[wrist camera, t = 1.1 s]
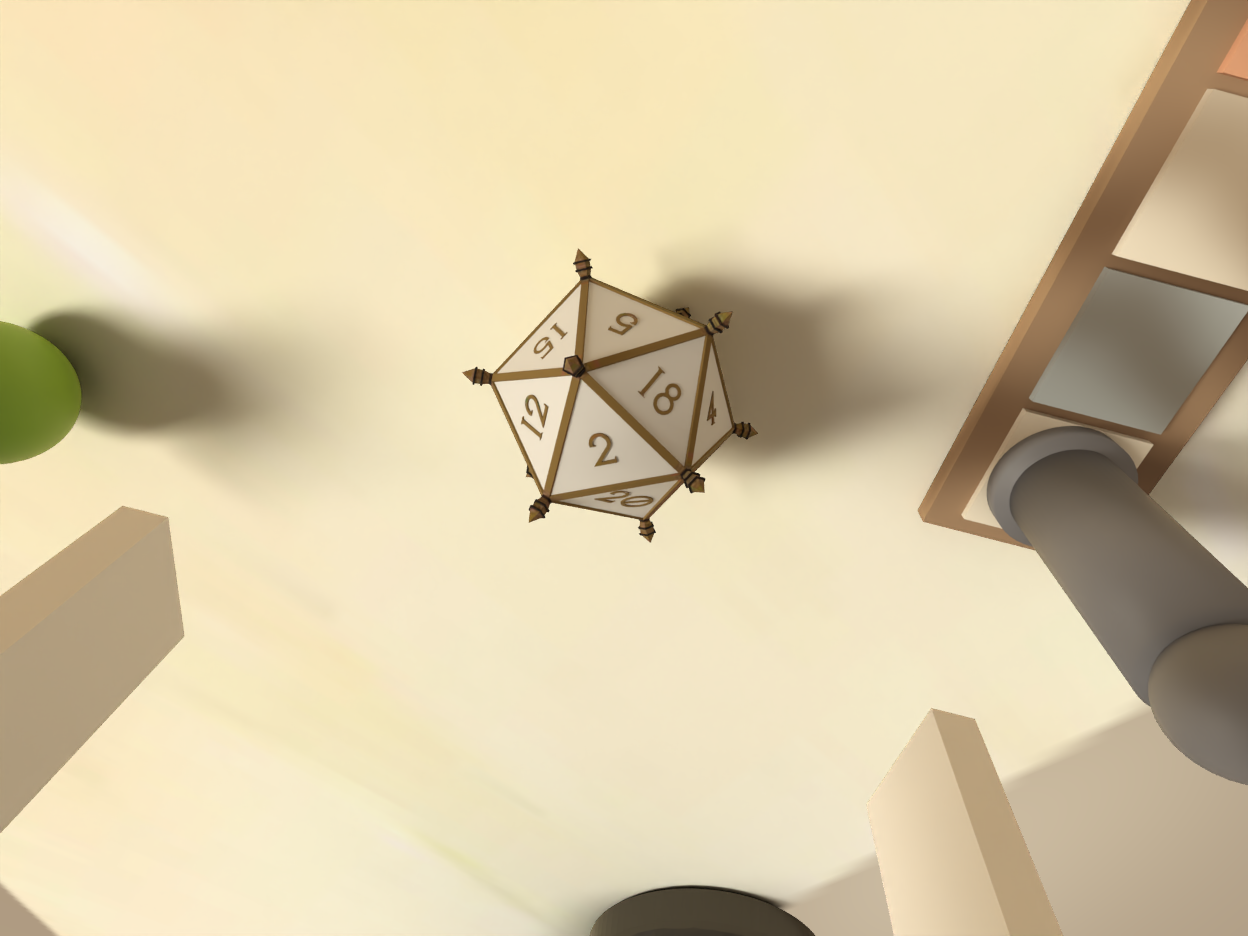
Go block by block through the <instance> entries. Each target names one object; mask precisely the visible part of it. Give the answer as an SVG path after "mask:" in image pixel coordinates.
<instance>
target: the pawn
mask: <svg viewBox="0 0 1248 936" xmlns="http://www.w3.org/2000/svg"><path fill="white" fill-rule="evenodd" d="M987 502H988V505H989V508H990V510H991V512H992V514H993V516H994V517H995V519H996V520H997V522H998V523H999V525H1000V526H1001V527H1002V529H1003V530H1004V531H1005V532H1006V533H1007V534H1008V535H1009V536H1010V537H1012V538H1013V539H1015V540H1016V541H1018V542H1020V543H1023V544H1025V545H1028V546H1032V547H1034V549H1035V550H1036V552H1037V553H1038V554H1039V556H1040V557H1041V559H1042V560H1043V562H1044V563H1045V564H1046V566H1047V567H1048V569H1049V570H1050V572H1051V573H1052V574H1053V576H1054V577H1055V579H1056V580H1057V582H1058V583H1059V584H1060V586H1061V587H1062V589H1063V590H1064V592H1065V593H1066V594H1067V596H1068V597H1069V599H1070V600H1071V602H1072V603H1073V604H1074V606H1075V607H1076V609H1077V610H1078V611H1079V613H1080V614H1081V616H1082V617H1083V619H1084V620H1085V621H1086V623H1087V624H1088V626H1089V627H1090V629H1091V630H1092V631H1093V633H1094V634H1095V636H1096V637H1097V639H1098V640H1099V641H1100V643H1101V644H1102V646H1103V647H1104V649H1105V650H1106V651H1107V653H1108V654H1109V656H1110V657H1111V659H1112V660H1113V661H1114V663H1115V664H1116V666H1117V667H1118V669H1119V670H1120V671H1121V673H1122V674H1123V676H1124V677H1125V679H1126V680H1127V681H1128V683H1129V684H1130V686H1131V687H1132V689H1133V690H1134V691H1135V693H1136V694H1137V695H1138V697H1139V698H1140V699H1141V700H1142V701H1143V702H1144V703H1146V704H1147V705H1149V706H1150V707H1151V709H1152V712H1153V714H1154V717H1155V719H1156V721H1157V723H1158V724H1159V726H1160V728H1161V730H1162V731H1163V732H1164V734H1165V735H1166V736H1167V738H1168V739H1169V740H1170V741H1171V742H1172V744H1173V745H1174V746H1175V747H1176V748H1177V749H1178V750H1179V751H1180V752H1182V753H1183V754H1184V755H1185V756H1186V757H1188V758H1189V759H1190V760H1192V761H1193V762H1194V763H1196V764H1198V765H1200V766H1201V767H1202V768H1205V769H1206V770H1208V771H1210V772H1211V773H1214V774H1216V775H1219V776H1221V777H1223V778H1226V779H1228V780H1231V781H1235V782H1238V783H1242V784H1245V785H1248V588H1247V587H1246V586H1245V585H1244V584H1243V583H1242V582H1241V581H1240V580H1239V579H1237V578H1236V577H1235V576H1234V575H1233V574H1232V573H1231V572H1230V571H1229V570H1228V569H1227V568H1226V567H1225V566H1224V565H1222V564H1221V563H1220V562H1219V561H1218V560H1217V559H1216V558H1215V557H1214V556H1213V555H1212V554H1211V553H1210V552H1209V551H1208V550H1206V549H1205V548H1204V547H1203V546H1202V545H1201V544H1200V543H1199V542H1198V541H1197V540H1196V539H1195V538H1194V537H1193V536H1191V535H1190V534H1189V533H1188V532H1187V531H1186V530H1185V529H1184V528H1183V527H1182V526H1181V525H1180V524H1179V523H1178V522H1176V521H1175V520H1174V519H1173V518H1172V517H1171V516H1170V515H1169V514H1168V513H1167V512H1166V511H1165V510H1164V509H1163V508H1162V507H1160V506H1159V505H1158V504H1157V503H1156V502H1155V501H1154V500H1153V499H1152V498H1151V497H1150V496H1149V495H1148V494H1147V493H1145V492H1144V491H1143V490H1142V489H1141V488H1140V487H1139V486H1138V473H1137V469H1136V466H1135V464H1134V461H1133V460H1132V458H1131V457H1130V455H1129V454H1128V453H1127V452H1126V451H1125V450H1124V449H1123V448H1121V447H1120V446H1119V445H1118V444H1117V443H1116V442H1115V441H1114V440H1112V439H1111V438H1110V437H1108V436H1107V435H1105V434H1104V433H1102V432H1100V431H1097V430H1094V429H1091V428H1087V427H1081V426H1062V427H1055V428H1050V429H1046V430H1043V431H1040V432H1037V433H1035V434H1033V435H1030V436H1028V437H1026V438H1025V439H1023V440H1021V441H1020V442H1018V443H1017V444H1015V445H1014V446H1013V447H1011V448H1010V449H1009V450H1008V451H1007V452H1006V453H1005V454H1004V455H1003V456H1002V457H1001V458H1000V459H999V461H998V462H997V464H996V465H995V467H994V468H993V470H992V472H991V474H990V477H989V480H988V484H987Z"/></svg>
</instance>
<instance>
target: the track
mask: <svg viewBox="0 0 1248 936" xmlns="http://www.w3.org/2000/svg"><path fill="white" fill-rule="evenodd" d="M1247 359H1248V0H1191V2H1190V4H1189V5H1188V7H1187V9H1186V11H1185V13H1184V15H1183V17H1182V18H1181V20H1180V22H1179V24H1178V26H1177V28H1176V30H1175V31H1174V33H1173V35H1172V37H1171V39H1170V41H1169V43H1168V45H1167V46H1166V48H1165V50H1164V52H1163V54H1162V56H1161V58H1160V59H1159V61H1158V63H1157V65H1156V67H1155V69H1154V71H1153V72H1152V74H1151V76H1150V78H1149V80H1148V82H1147V84H1146V86H1145V87H1144V89H1143V91H1142V93H1141V95H1140V97H1139V99H1138V100H1137V102H1136V104H1135V106H1134V108H1133V110H1132V112H1131V114H1130V115H1129V117H1128V119H1127V121H1126V123H1125V125H1124V127H1123V128H1122V130H1121V132H1120V134H1119V136H1118V138H1117V140H1116V141H1115V143H1114V145H1113V147H1112V149H1111V151H1110V153H1109V155H1108V156H1107V158H1106V160H1105V162H1104V164H1103V166H1102V168H1101V169H1100V171H1099V173H1098V175H1097V177H1096V179H1095V181H1094V183H1093V184H1092V186H1091V188H1090V190H1089V192H1088V194H1087V196H1086V197H1085V199H1084V201H1083V203H1082V205H1081V207H1080V209H1079V210H1078V212H1077V214H1076V216H1075V218H1074V220H1073V222H1072V224H1071V225H1070V227H1069V229H1068V231H1067V233H1066V235H1065V237H1064V238H1063V240H1062V242H1061V244H1060V246H1059V248H1058V250H1057V251H1056V253H1055V255H1054V257H1053V259H1052V261H1051V263H1050V265H1049V266H1048V268H1047V270H1046V272H1045V274H1044V276H1043V278H1042V279H1041V281H1040V283H1039V285H1038V287H1037V289H1036V291H1035V293H1034V294H1033V296H1032V298H1031V300H1030V302H1029V304H1028V306H1027V307H1026V309H1025V311H1024V313H1023V315H1022V317H1021V319H1020V320H1019V322H1018V324H1017V326H1016V328H1015V330H1014V332H1013V334H1012V335H1011V337H1010V339H1009V341H1008V343H1007V345H1006V347H1005V348H1004V350H1003V352H1002V354H1001V356H1000V358H999V360H998V361H997V363H996V365H995V367H994V369H993V371H992V373H991V375H990V376H989V378H988V380H987V382H986V384H985V386H984V388H983V389H982V391H981V393H980V395H979V397H978V399H977V401H976V403H975V404H974V406H973V408H972V410H971V412H970V414H969V416H968V417H967V419H966V421H965V423H964V425H963V427H962V429H961V430H960V432H959V434H958V436H957V438H956V440H955V442H954V444H953V445H952V447H951V449H950V451H949V453H948V455H947V457H946V458H945V460H944V462H943V464H942V466H941V468H940V470H939V471H938V473H937V475H936V477H935V479H934V481H933V483H932V485H931V486H930V488H929V490H928V492H927V494H926V496H925V498H924V499H923V501H922V503H921V505H920V507H919V509H918V512H919V514H920V516H921V518H922V520H923V522H927V523H931V524H934V525H938V526H942V527H946V528H950V529H954V530H958V531H962V532H966V533H970V534H974V535H978V536H981V537H985V538H989V539H993V540H997V541H1001V542H1005V543H1009V544H1013V545H1017V546H1021V547H1025V548H1028V549H1032V550H1035V549H1034V547H1032V546H1028V545H1025V544H1023V543H1020V542H1018V541H1016V540H1015V539H1013V538H1012V537H1010V536H1009V535H1008V534H1007V533H1006V532H1005V531H1004V530H1003V529H1002V527H1001V526H1000V525H999V523H998V522H997V520H996V519H995V517H994V516H993V514H992V512H991V510H990V508H989V505H988V502H987V484H988V480H989V477H990V474H991V472H992V470H993V468H994V467H995V465H996V464H997V462H998V461H999V459H1000V458H1001V457H1002V456H1003V455H1004V454H1005V453H1006V452H1007V451H1008V450H1009V449H1010V448H1011V447H1013V446H1014V445H1015V444H1017V443H1018V442H1020V441H1021V440H1023V439H1025V438H1026V437H1028V436H1030V435H1033V434H1035V433H1037V432H1040V431H1043V430H1046V429H1050V428H1055V427H1062V426H1081V427H1087V428H1091V429H1094V430H1097V431H1100V432H1102V433H1104V434H1105V435H1107V436H1108V437H1110V438H1111V439H1112V440H1114V441H1115V442H1116V443H1117V444H1118V445H1119V446H1120V447H1121V448H1123V449H1124V450H1125V451H1126V452H1127V453H1128V454H1129V455H1130V457H1131V458H1132V460H1133V461H1134V464H1135V466H1136V469H1137V473H1138V486H1139V487H1140V488H1141V489H1142V490H1143V491H1144V492H1145V493H1147V494H1148V495H1149V494H1150V492H1151V491H1152V489H1153V488H1154V487H1155V485H1156V484H1157V483H1158V481H1159V480H1160V478H1161V477H1162V476H1163V474H1164V473H1165V472H1166V470H1167V469H1168V468H1169V466H1170V465H1171V463H1172V462H1173V461H1174V459H1175V458H1176V457H1177V455H1178V454H1179V452H1180V451H1181V450H1182V448H1183V447H1184V446H1185V444H1186V443H1187V442H1188V440H1189V439H1190V437H1191V436H1192V435H1193V433H1194V432H1195V431H1196V429H1197V428H1198V426H1199V425H1200V424H1201V422H1202V421H1203V420H1204V418H1205V417H1206V416H1207V414H1208V413H1209V411H1210V410H1211V409H1212V407H1213V406H1214V405H1215V403H1216V402H1217V400H1218V399H1219V398H1220V396H1221V395H1222V394H1223V392H1224V391H1225V390H1226V388H1227V387H1228V385H1229V384H1230V383H1231V381H1232V380H1233V379H1234V377H1235V376H1236V374H1237V373H1238V372H1239V370H1240V369H1241V368H1242V366H1243V365H1244V364H1245V362H1246V361H1247Z"/></svg>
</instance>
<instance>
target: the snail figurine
mask: <svg viewBox="0 0 1248 936" xmlns="http://www.w3.org/2000/svg"><path fill="white" fill-rule="evenodd" d="M81 398H82V396H81V387H80V382H79V379H78V376H77V374H76V372H75V370H74V368H73V366H72V365H71V363H70V362H69V360H68V359H67V358H66V357H65V355H64V354H63V353H62V352H61V351H60V350H59V349H58V348H57V347H55V346H54V345H53V344H52V343H50V342H49V341H48V340H46V339H45V338H43V337H41V336H40V335H38V334H36V333H34V332H32V331H30V330H28V329H25V328H23V327H20V326H17V325H14V324H10V323H6V322H2V321H0V464H7V463H13V462H18V461H22V460H26V459H29V458H32V457H35V456H37V455H39V454H41V453H43V452H45V451H47V450H49V449H50V448H52V447H53V446H55V445H56V444H57V443H59V442H60V441H61V440H62V439H63V438H64V437H65V436H66V435H67V434H68V433H69V431H70V430H71V429H72V427H73V425H74V424H75V422H76V420H77V417H78V415H79V412H80V407H81Z"/></svg>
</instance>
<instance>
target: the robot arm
mask: <svg viewBox="0 0 1248 936" xmlns="http://www.w3.org/2000/svg"><path fill="white" fill-rule="evenodd" d="M183 637H184V630H183V623H182V615H181V608H180V601H179V593H178V586H177V579H176V571H175V564H174V557H173V549H172V542H171V535H170V527H169V520H168V517H165V516H161V515H157V514H153V513H149V512H145V511H141V510H137V509H133V508H129V507H125V506H122V507H120V508H119V509H118V510H116V511H115V512H114V513H112V514H111V515H110V516H108V517H107V518H105V519H104V520H103V521H101V522H100V523H99V524H97V525H96V526H95V527H93V528H92V529H91V530H89V531H88V532H86V533H85V534H84V535H82V536H81V537H80V538H78V539H77V540H76V541H74V542H73V543H72V544H70V545H69V546H67V547H66V548H65V549H63V550H62V551H61V552H59V553H58V554H57V555H55V556H54V557H53V558H51V559H50V560H49V561H47V562H46V563H44V564H43V565H42V566H40V567H39V568H38V569H36V570H35V571H34V572H32V573H31V574H30V575H28V576H27V577H25V578H24V579H23V580H21V581H20V582H19V583H17V584H16V585H15V586H13V587H12V588H11V589H9V590H8V591H6V592H5V593H4V594H2V595H1V596H0V833H1V832H2V831H3V830H4V829H5V828H6V827H7V826H8V825H9V823H10V822H11V821H12V820H13V819H14V818H15V817H16V816H17V815H18V814H19V813H20V812H21V811H22V810H23V808H24V807H25V806H26V805H27V804H28V803H29V802H30V801H31V800H32V799H33V798H34V797H35V796H36V795H37V793H38V792H39V791H40V790H41V789H42V788H43V787H44V786H45V785H46V784H47V783H48V782H49V781H50V780H51V778H52V777H53V776H54V775H55V774H56V773H57V772H58V771H59V770H60V769H61V768H62V767H63V766H64V765H65V763H66V762H67V761H68V760H69V759H70V758H71V757H72V756H73V755H74V754H75V753H76V752H77V751H78V750H79V748H80V747H81V746H82V745H83V744H84V743H85V742H86V741H87V740H88V739H89V738H90V737H91V736H92V735H93V733H94V732H95V731H96V730H97V729H98V728H99V727H100V726H101V725H102V724H103V723H104V722H105V721H106V720H107V718H108V717H109V716H110V715H111V714H112V713H113V712H114V711H115V710H116V709H117V708H118V707H119V706H120V705H121V703H122V702H123V701H124V700H125V699H126V698H127V697H128V696H129V695H130V694H131V693H132V692H133V691H134V690H135V689H136V687H137V686H138V685H139V684H140V683H141V682H142V681H143V680H144V679H145V678H146V677H147V676H148V675H149V674H150V672H151V671H152V670H153V669H154V668H155V667H156V666H157V665H158V664H159V663H160V662H161V661H162V660H163V659H164V657H165V656H166V655H167V654H168V653H169V652H170V651H171V650H172V649H173V648H174V647H175V646H176V645H177V644H178V642H179V641H180V640H181V639H182V638H183ZM866 806H867V811H868V815H869V820H870V825H871V830H872V834H873V839H874V844H875V848H876V853H877V858H878V863H879V867H880V872H881V876H882V881H883V886H884V890H885V896H886V900H887V905H888V910H889V914H890V919H891V924H892V928H893V933H894V936H1063V934H1062V931H1061V929H1060V927H1059V924H1058V922H1057V919H1056V917H1055V915H1054V912H1053V909H1052V907H1051V905H1050V902H1049V900H1048V897H1047V895H1046V892H1045V890H1044V887H1043V885H1042V883H1041V880H1040V878H1039V875H1038V873H1037V870H1036V868H1035V866H1034V863H1033V860H1032V858H1031V856H1030V853H1029V851H1028V848H1027V846H1026V843H1025V841H1024V838H1023V836H1022V834H1021V831H1020V829H1019V826H1018V824H1017V821H1016V819H1015V817H1014V814H1013V812H1012V809H1011V806H1010V804H1009V802H1008V799H1007V797H1006V794H1005V792H1004V789H1003V787H1002V784H1001V782H1000V780H999V777H998V775H997V772H996V770H995V767H994V765H993V762H992V760H991V757H990V755H989V753H988V750H987V748H986V745H985V743H984V740H983V738H982V735H981V733H980V731H979V728H978V726H977V723H976V721H975V719H972V718H968V717H964V716H960V715H956V714H952V713H949V712H945V711H941V710H937V709H933V708H931V709H930V711H929V712H928V714H927V715H926V717H925V718H924V720H923V721H922V723H921V724H920V726H919V727H918V729H917V730H916V732H915V733H914V735H913V736H912V738H911V739H910V740H909V742H908V743H907V745H906V746H905V748H904V749H903V751H902V752H901V754H900V755H899V757H898V758H897V760H896V761H895V763H894V764H893V766H892V767H891V769H890V770H889V771H888V773H887V774H886V776H885V777H884V779H883V780H882V782H881V783H880V785H879V786H878V788H877V789H876V791H875V792H874V794H873V795H872V797H871V798H870V800H869V801H868V803H867V804H866ZM590 936H815V935H814V933H813V932H812V931H811V930H810V929H809V928H808V927H806V926H805V925H804V924H803V923H802V922H801V921H799V920H798V919H797V918H795V917H793V916H792V915H790V914H789V913H787V912H785V911H783V910H781V909H779V908H777V907H775V906H773V905H771V904H768V903H766V902H763V901H760V900H757V899H754V898H751V897H747V896H744V895H740V894H735V893H730V892H724V891H717V890H708V889H669V890H661V891H655V892H649V893H645V894H641V895H638V896H635V897H632V898H629V899H626V900H624V901H622V902H620V903H618V904H616V905H614V906H613V907H611V908H610V909H608V910H607V911H606V912H604V913H603V914H602V915H601V916H600V917H599V918H598V920H597V921H596V922H595V924H594V925H593V927H592V930H591V933H590Z"/></svg>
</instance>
